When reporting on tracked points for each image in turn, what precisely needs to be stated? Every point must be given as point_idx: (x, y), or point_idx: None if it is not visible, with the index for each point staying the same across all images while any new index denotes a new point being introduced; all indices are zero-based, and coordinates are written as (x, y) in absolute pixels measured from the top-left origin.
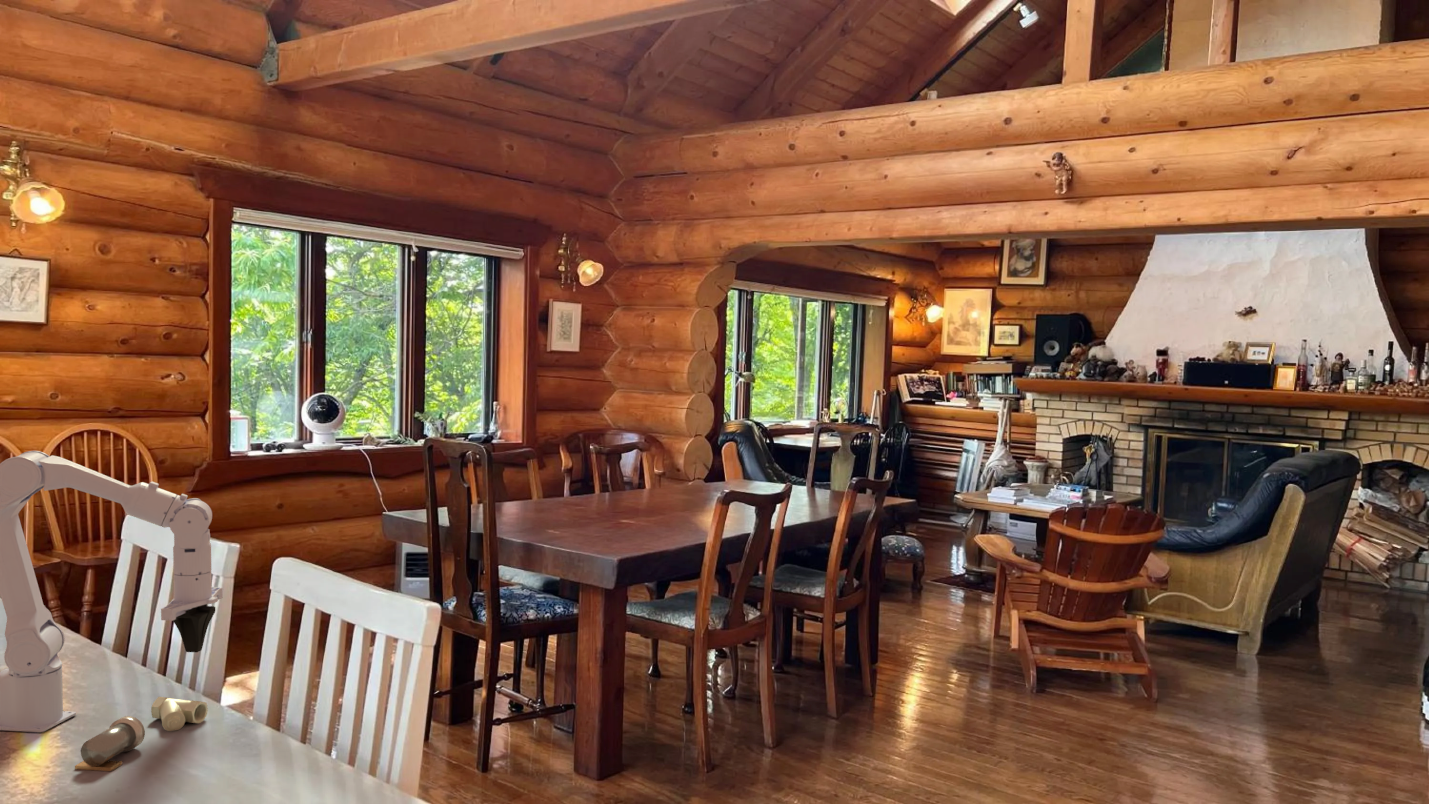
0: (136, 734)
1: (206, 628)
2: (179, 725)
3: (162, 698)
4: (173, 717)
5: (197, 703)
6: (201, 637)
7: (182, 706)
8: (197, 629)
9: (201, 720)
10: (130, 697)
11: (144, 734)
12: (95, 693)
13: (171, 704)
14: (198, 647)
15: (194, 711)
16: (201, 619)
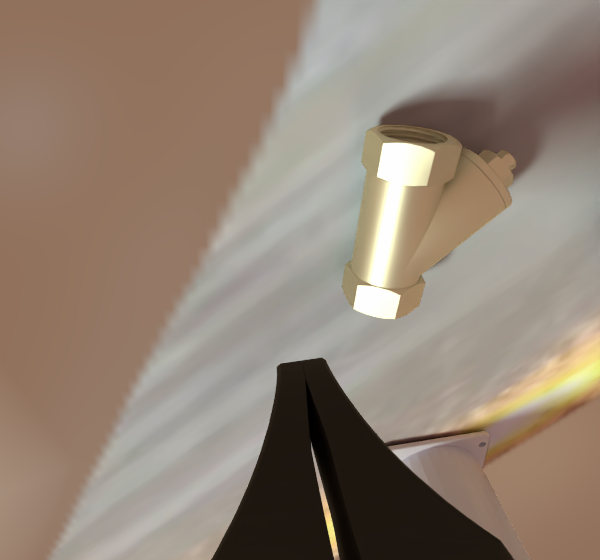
0: None
1: (270, 463)
2: (485, 150)
3: (402, 300)
4: (509, 175)
5: (441, 148)
6: (318, 414)
7: (438, 201)
8: (406, 467)
9: (394, 127)
10: (243, 435)
11: None
12: None
13: (442, 241)
14: (328, 371)
15: (449, 140)
16: (448, 535)
